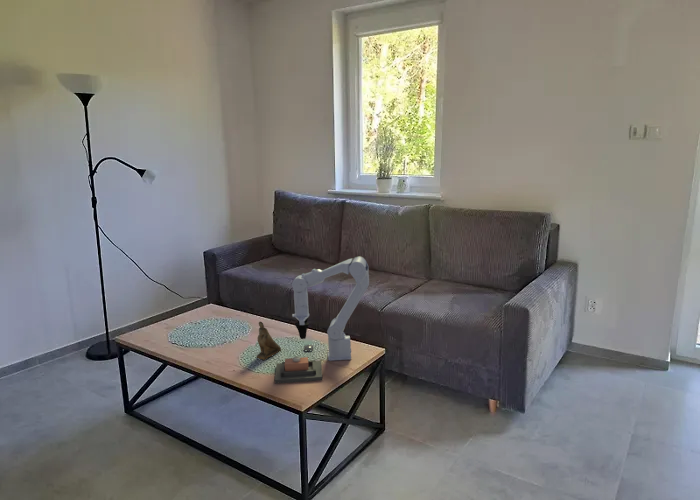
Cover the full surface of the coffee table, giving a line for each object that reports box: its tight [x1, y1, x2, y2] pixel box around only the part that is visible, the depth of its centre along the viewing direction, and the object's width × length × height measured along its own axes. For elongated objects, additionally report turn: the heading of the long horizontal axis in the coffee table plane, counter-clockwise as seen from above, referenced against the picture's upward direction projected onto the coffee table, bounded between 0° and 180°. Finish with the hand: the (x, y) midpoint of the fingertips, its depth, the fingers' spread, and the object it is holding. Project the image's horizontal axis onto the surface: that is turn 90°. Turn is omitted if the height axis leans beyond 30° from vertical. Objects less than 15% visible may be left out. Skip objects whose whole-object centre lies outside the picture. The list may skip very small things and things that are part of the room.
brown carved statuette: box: [256, 321, 282, 361], centre depth 211 cm, size 12×6×18 cm, turn 144°
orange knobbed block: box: [284, 356, 309, 371], centre depth 195 cm, size 5×9×5 cm, turn 95°
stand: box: [274, 359, 323, 384], centre depth 196 cm, size 18×14×3 cm
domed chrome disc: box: [303, 344, 314, 352], centre depth 217 cm, size 4×4×2 cm
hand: (303, 334), depth 209 cm, fingers open, 7 cm apart
